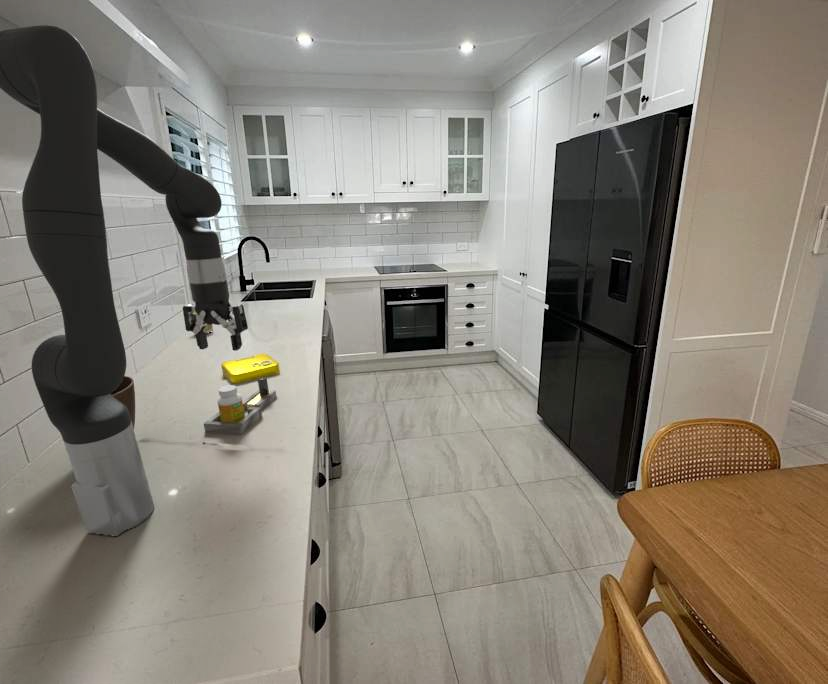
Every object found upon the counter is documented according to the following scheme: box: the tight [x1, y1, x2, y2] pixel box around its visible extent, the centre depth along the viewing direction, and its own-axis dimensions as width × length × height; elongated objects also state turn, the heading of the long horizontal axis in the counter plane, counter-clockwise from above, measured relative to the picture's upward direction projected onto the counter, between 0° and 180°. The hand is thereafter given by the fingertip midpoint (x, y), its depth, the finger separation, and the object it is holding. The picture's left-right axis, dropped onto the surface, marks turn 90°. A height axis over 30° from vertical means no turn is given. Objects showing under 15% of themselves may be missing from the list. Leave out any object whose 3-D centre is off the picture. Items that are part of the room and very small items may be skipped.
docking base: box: [203, 389, 277, 436], centre depth 110 cm, size 24×13×3 cm, turn 169°
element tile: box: [220, 352, 281, 384], centre depth 138 cm, size 15×15×5 cm
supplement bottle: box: [217, 384, 246, 423], centre depth 103 cm, size 5×5×10 cm
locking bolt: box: [246, 376, 271, 410], centre depth 114 cm, size 8×2×6 cm, turn 169°
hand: (220, 349), depth 99 cm, fingers open, 8 cm apart
